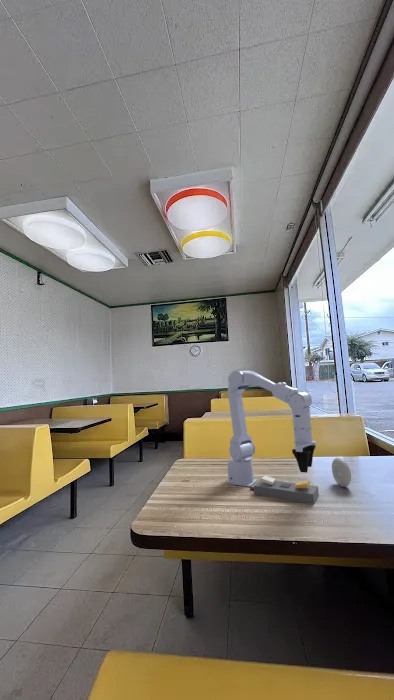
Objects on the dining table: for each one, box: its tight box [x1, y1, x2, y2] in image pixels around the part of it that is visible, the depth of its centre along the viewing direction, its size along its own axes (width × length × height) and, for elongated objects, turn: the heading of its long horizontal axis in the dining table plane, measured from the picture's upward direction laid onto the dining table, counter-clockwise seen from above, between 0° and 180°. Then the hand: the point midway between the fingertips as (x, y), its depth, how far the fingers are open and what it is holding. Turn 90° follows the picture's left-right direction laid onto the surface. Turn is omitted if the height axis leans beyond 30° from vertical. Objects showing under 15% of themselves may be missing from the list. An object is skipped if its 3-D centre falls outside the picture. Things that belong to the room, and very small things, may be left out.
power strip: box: [249, 479, 320, 505], centre depth 105 cm, size 23×8×3 cm, turn 58°
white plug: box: [260, 475, 277, 485], centre depth 107 cm, size 4×4×1 cm
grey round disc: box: [331, 457, 352, 488], centre depth 109 cm, size 10×4×10 cm, turn 2°
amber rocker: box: [295, 480, 311, 488], centre depth 101 cm, size 4×4×1 cm
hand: (306, 469), depth 101 cm, fingers open, 6 cm apart
